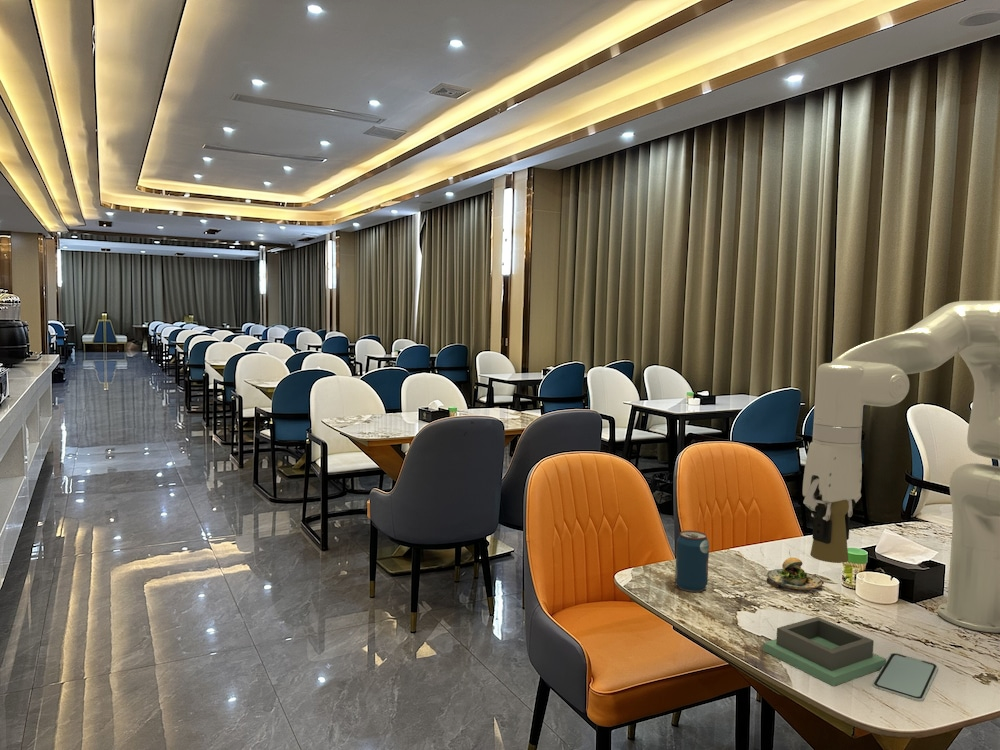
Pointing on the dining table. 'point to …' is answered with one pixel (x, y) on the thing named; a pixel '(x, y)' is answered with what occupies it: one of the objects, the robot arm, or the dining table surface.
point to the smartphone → (906, 676)
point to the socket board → (825, 650)
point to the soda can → (692, 561)
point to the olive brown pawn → (834, 536)
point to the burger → (793, 576)
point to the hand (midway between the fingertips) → (830, 538)
